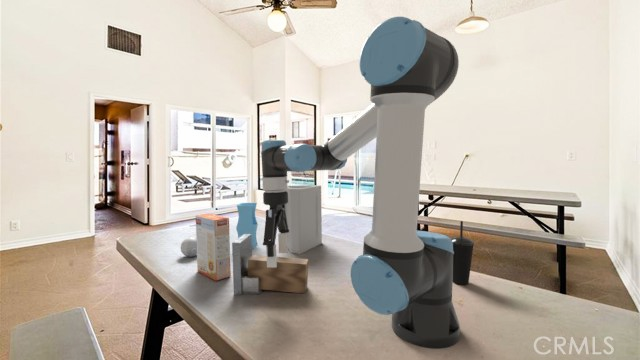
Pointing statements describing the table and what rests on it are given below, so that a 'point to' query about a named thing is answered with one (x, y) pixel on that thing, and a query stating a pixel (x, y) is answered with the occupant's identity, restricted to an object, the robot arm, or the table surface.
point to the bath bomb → (189, 247)
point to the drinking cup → (462, 258)
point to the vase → (247, 221)
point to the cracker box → (213, 246)
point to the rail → (280, 273)
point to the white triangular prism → (303, 217)
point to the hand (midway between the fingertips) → (277, 259)
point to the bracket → (243, 267)
